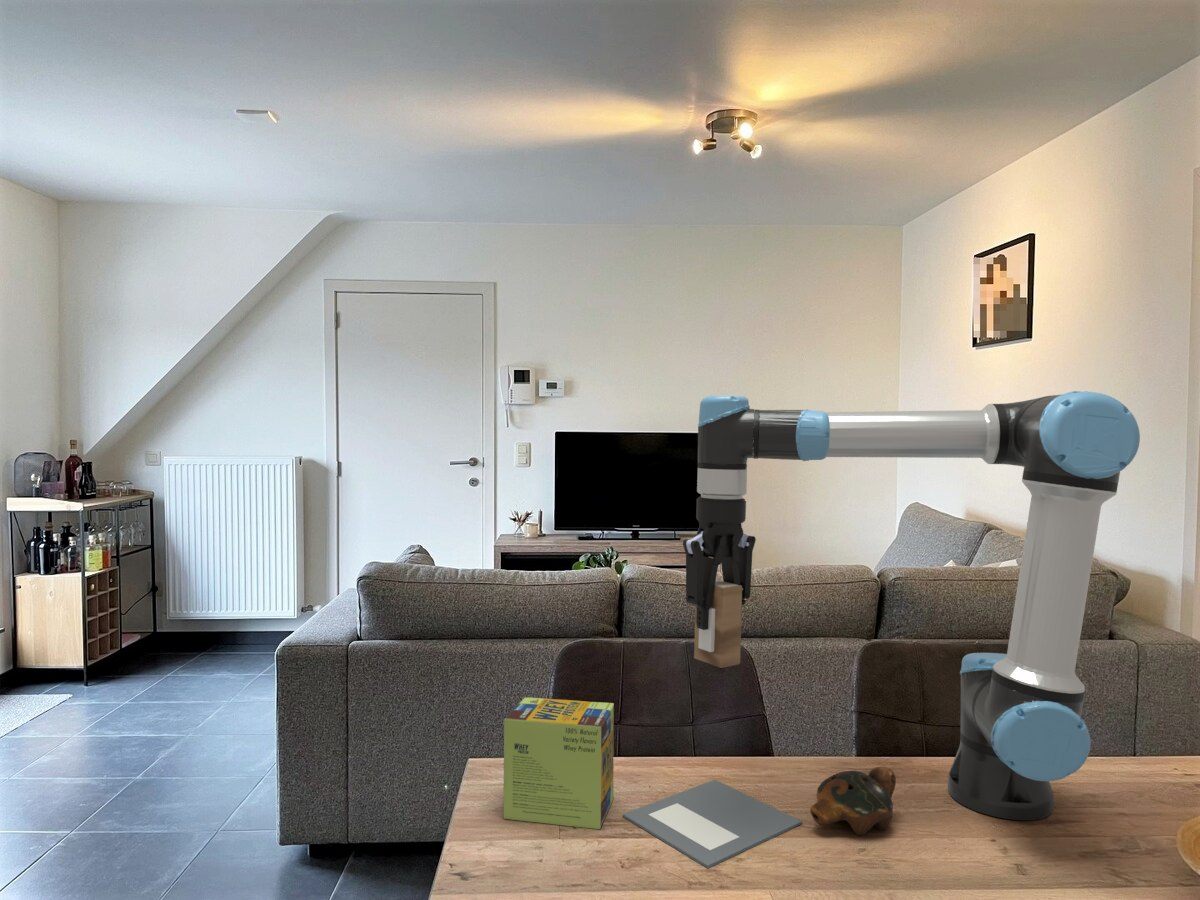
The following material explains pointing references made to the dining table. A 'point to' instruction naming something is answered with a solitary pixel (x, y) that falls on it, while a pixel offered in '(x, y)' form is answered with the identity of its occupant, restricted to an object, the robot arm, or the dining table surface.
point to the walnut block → (723, 626)
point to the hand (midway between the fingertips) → (717, 647)
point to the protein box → (559, 762)
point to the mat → (711, 822)
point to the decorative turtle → (856, 799)
